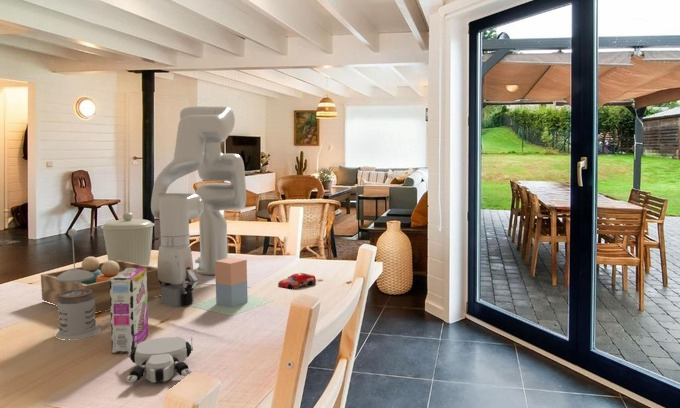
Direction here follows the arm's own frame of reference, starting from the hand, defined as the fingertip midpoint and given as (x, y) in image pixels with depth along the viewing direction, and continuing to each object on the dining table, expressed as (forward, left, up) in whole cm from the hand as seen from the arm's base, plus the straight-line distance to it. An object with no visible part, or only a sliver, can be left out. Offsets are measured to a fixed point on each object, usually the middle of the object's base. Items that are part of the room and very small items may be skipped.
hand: (177, 304), depth 143 cm
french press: (-4, -26, -1) cm, 26 cm away
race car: (+14, +36, -1) cm, 39 cm away
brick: (+13, +8, +6) cm, 16 cm away
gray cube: (0, 0, -1) cm, 1 cm away
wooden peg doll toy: (-25, -4, -1) cm, 25 cm away
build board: (+13, +8, -1) cm, 15 cm away
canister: (-52, +21, -1) cm, 56 cm away
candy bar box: (+14, -24, -1) cm, 28 cm away
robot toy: (+31, -29, -1) cm, 43 cm away
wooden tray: (-25, -6, -1) cm, 26 cm away
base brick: (+13, +8, 0) cm, 15 cm away
